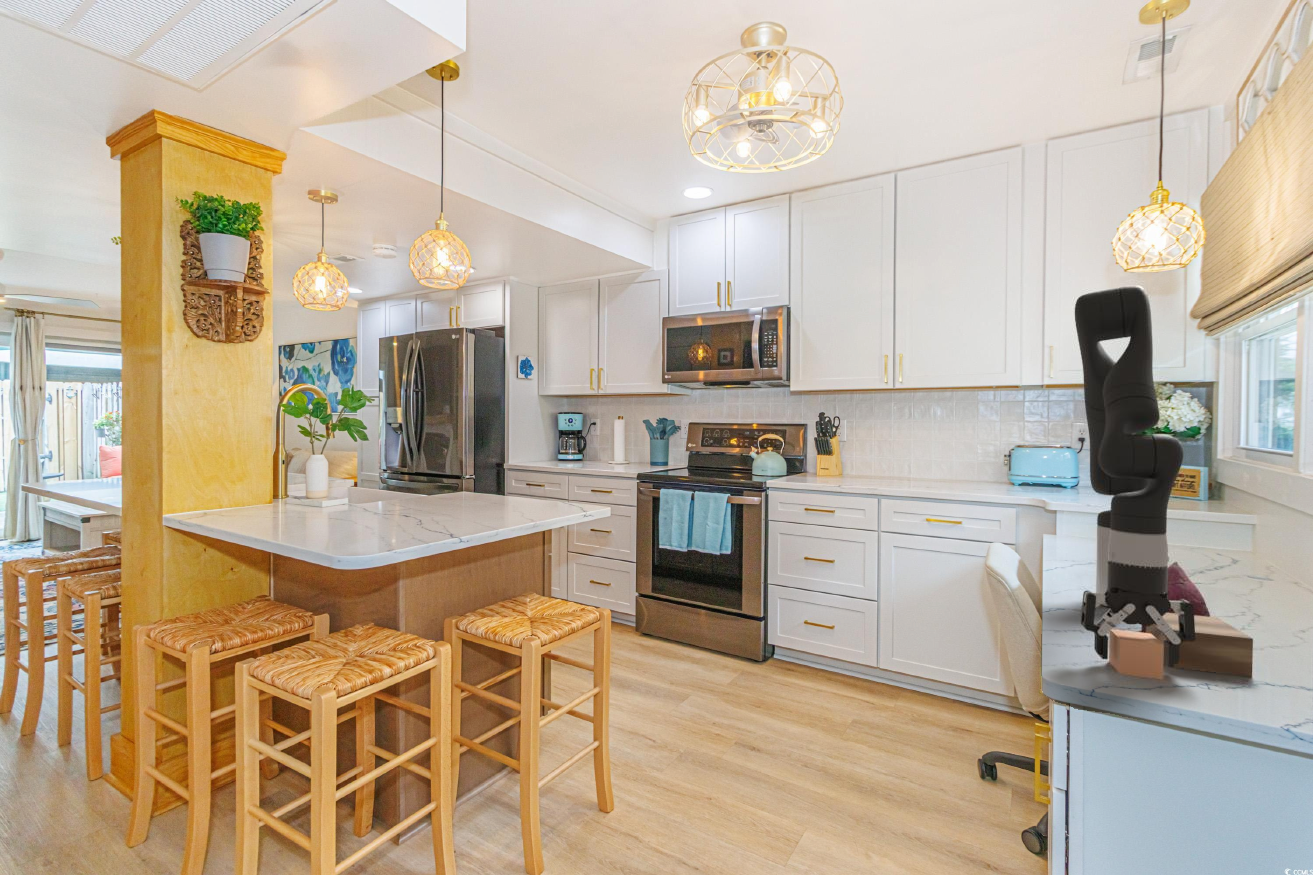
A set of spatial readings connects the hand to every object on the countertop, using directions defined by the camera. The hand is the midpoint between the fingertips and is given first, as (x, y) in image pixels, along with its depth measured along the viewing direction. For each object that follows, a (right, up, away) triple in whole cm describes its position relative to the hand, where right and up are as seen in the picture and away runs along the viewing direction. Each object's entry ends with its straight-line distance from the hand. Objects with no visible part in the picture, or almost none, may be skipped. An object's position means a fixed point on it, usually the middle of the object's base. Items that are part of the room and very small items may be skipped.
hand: (1135, 661), depth 98 cm
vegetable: (+21, -2, +17) cm, 27 cm away
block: (0, -2, 0) cm, 2 cm away
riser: (+14, -2, +5) cm, 15 cm away
